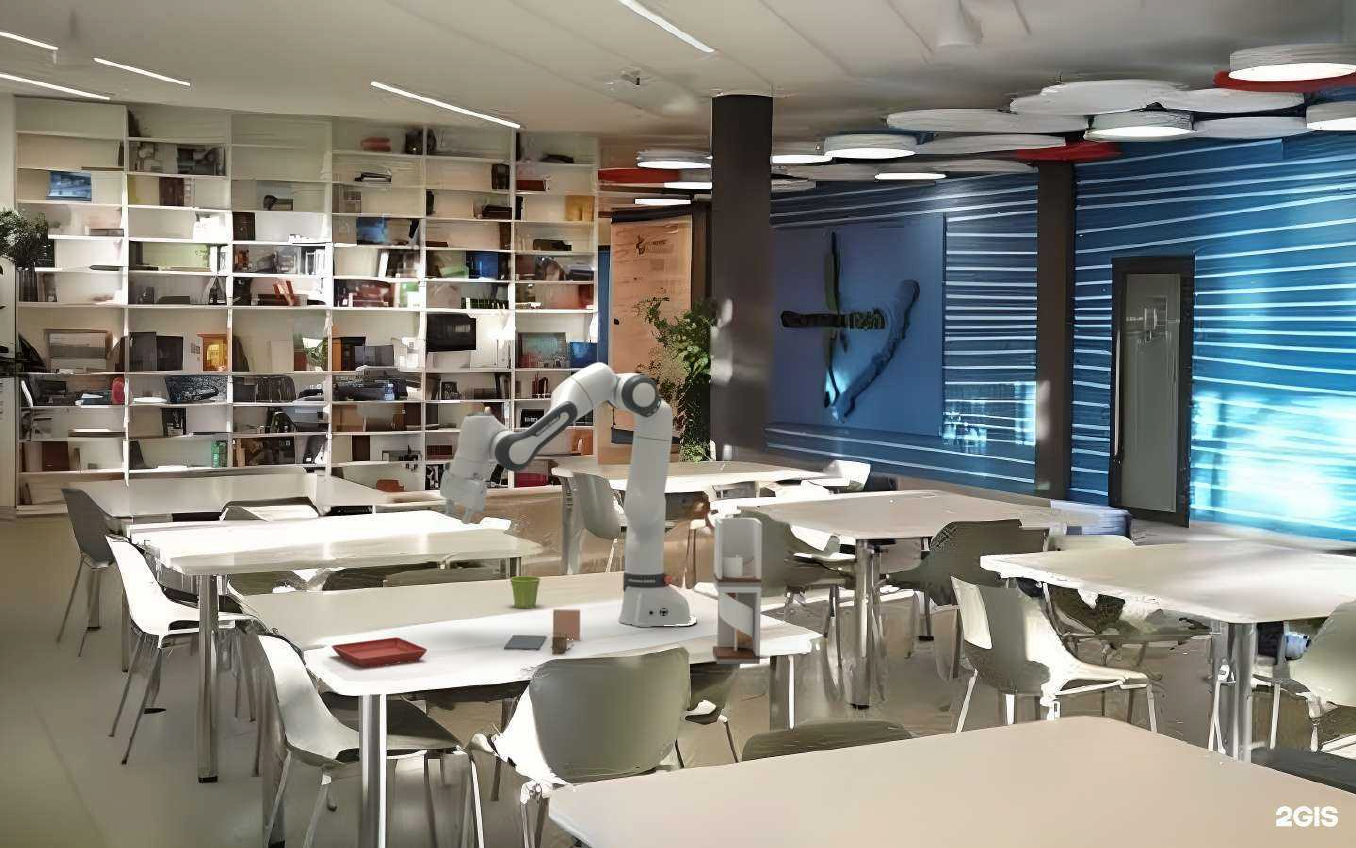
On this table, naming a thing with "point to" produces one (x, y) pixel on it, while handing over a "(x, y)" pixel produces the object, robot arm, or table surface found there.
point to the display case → (738, 589)
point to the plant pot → (525, 590)
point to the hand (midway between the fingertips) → (457, 520)
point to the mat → (525, 642)
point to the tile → (567, 622)
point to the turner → (560, 643)
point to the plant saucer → (379, 652)
